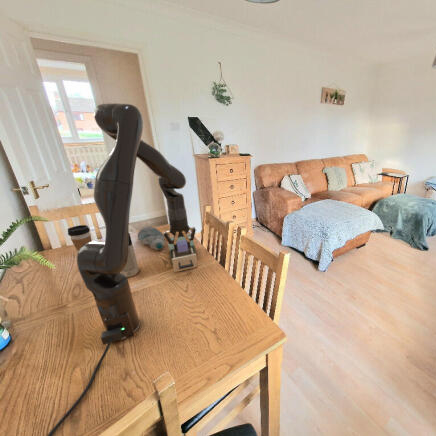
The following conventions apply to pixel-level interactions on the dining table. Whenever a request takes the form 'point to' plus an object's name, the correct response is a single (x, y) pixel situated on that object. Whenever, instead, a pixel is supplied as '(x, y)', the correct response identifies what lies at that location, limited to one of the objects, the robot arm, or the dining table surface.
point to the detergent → (152, 237)
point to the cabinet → (171, 246)
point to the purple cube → (182, 246)
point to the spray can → (130, 262)
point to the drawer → (184, 260)
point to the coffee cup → (79, 236)
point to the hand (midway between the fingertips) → (182, 249)
